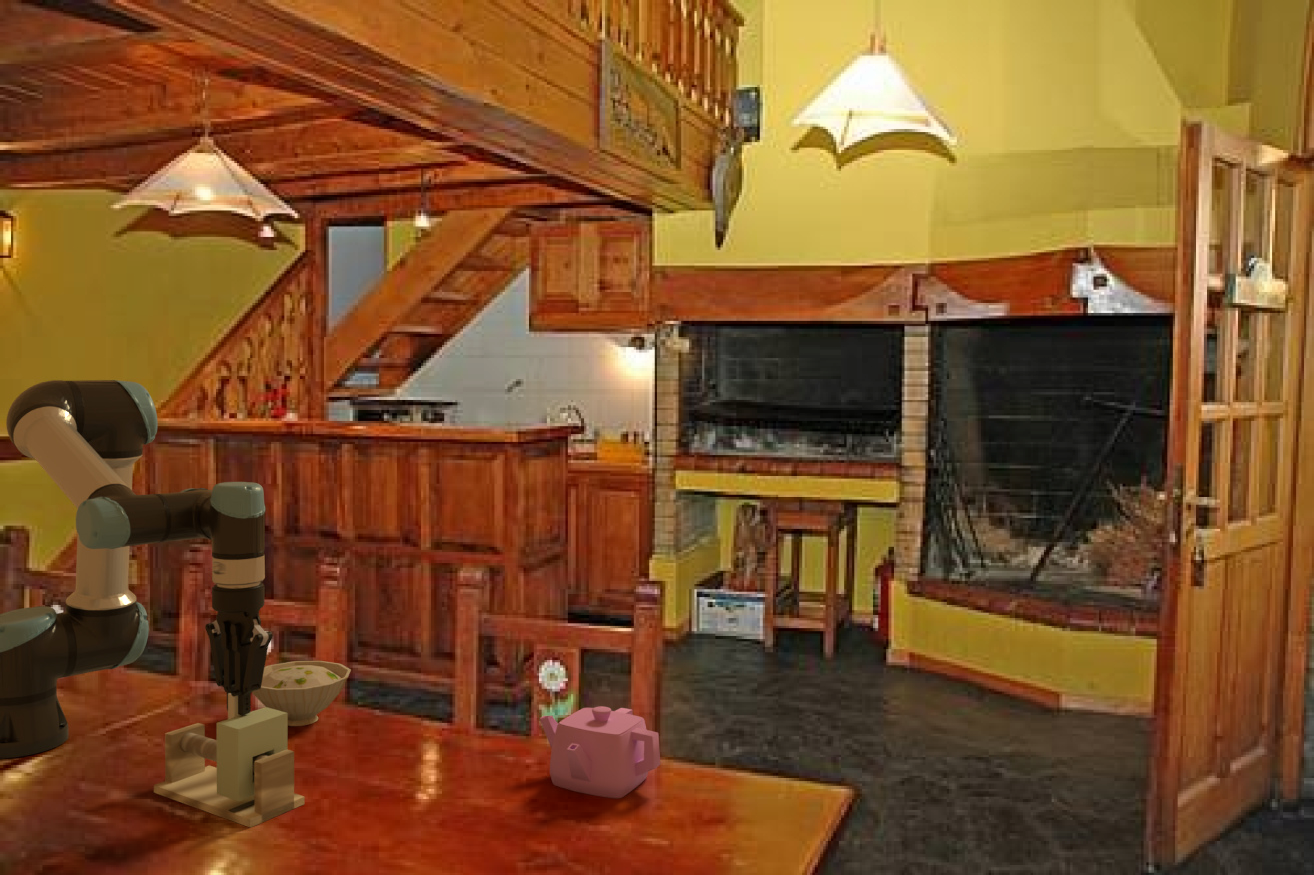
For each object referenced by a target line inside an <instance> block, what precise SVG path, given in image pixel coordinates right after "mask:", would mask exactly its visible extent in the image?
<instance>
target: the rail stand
mask: <svg viewBox="0 0 1314 875" xmlns="http://www.w3.org/2000/svg"><path fill="white" fill-rule="evenodd" d="M205 726H206V725H205V724H203V723H201V722H200V723H199V722H197V723H193V724H191V725H187V726H183V727H180V728H177V729H174V730H171V731H168V732H166V733H164V757H165V758H164V759H165V760H164V769H165V770H164V772H165V773H164V774H165V777H164V780H165V781H161V782H159V783H156V784H154V785H153V793H155V794H157V795H159V796H162V797H165V798H168V799H170V800H173V801H176V802H179V803H180V804H181V803H182V804H185V805H187V806H190V807H192V808H195V809H198V810H201V811H204V812H206V813H209V814H212V815H215V816H217V817H220V818H223V819H226V820H228V821H231V822H234V823H236V824H239V825H242V826H245V827H248V828H253V827H255V826H257V825H260V824H262V823H264V822H267V821H269V820H271V819H273V818H276V817H278V816H280V815H283V814H286V813H287V812H289V811H293V810H294V809H296V808H299V807H301V806H304V805H305V796H303V795H301V794H298V793H295V751H293V750H291V749H288V748H287V750H284V751H281V752H279V753H276V754H273V755H270V756H268V755H267V754H264V753H262V754H259V755H257V756H254V757H253V775H254V795H253V796H251V797H248V798H246V799H243V800H241V801H236V800H233V799H230V798H227V797H224V796H221V795H218V794H217V766H216V767H215V766H212V765H207V766H206V765H205V764H206V760H209V761H212V762H216V763H217V739H213V738H211V737H207V736H205V734H206V732H205V729H206V727H205Z"/></svg>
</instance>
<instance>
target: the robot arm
mask: <svg viewBox="0 0 1314 875" xmlns="http://www.w3.org/2000/svg"><path fill="white" fill-rule="evenodd" d="M5 422H6V423H5V424H6V431H7V435H8V437H9V440H10V441H11V442H12V444H13V445H14V446H15V448H16V449H17V450H18V451H19V452H20V454H22V455H24V456H26V457H28V458H31V459H34V460H36V462H37V463H38V464H39V465H40V466H41V468H42V469H43V470H44V471H45V473H46V474H47V475H48V476H49V477H50V478H51V480H52V481H53V482H54V483H55V484H56V485H57V487H58V488H59V489H60V490H61V491H62V492H63V493H64V495H65V496H66V497H67V498H68V500H70V501H71V503H72V504H73V505H74V507H75V508H76V514H75V529H76V533H77V535H76V538H77V539H76V540H77V541H76V565H75V566H76V567H75V590H74V591H73V592H72V593H71V594H69V595H68V596H67V598H66V599H65V609H64V610H65V611H63V612H59V613H58V612H56V610H55V609H54V608H53V607H51V606H42V605H41V606H40V605H39V606H34V607H24V608H18V609H14V610H9V611H6V612H3V613H0V759H10V758H11V759H13V758H20V757H26V756H31V755H35V754H39V753H43V752H47V751H49V750H52V749H54V748H57V747H59V746H60V745H62V744H64V743H65V742H67V741H68V739H69V724H68V721H67V718H66V715H65V714H64V711H63V709H62V706H61V703H60V700H59V699H58V695H57V694H58V692H57V685H58V684H57V683H58V679H62V678H66V677H67V678H68V677H73V676H77V675H83V674H84V675H85V674H87V673H93V672H100V671H105V670H114V669H116V668H118V667H123V666H126V665H130V664H132V663H134V662H135V661H137V659H139V657H141V655H142V654H143V652H144V650H145V647H146V645H147V642H148V638H149V631H150V630H149V629H150V628H149V620H147V618H148V614H147V610H146V609H145V607H144V605H142V603H140V602H138V601H137V595H135V593H133V592H132V591H131V590H130V589H129V571H130V570H129V568H130V567H129V566H130V547H133V546H140V545H141V546H142V545H149V544H158V543H168V542H170V543H171V542H178V541H186V540H195V539H197V540H198V539H207V540H210V541H211V557H212V561H211V563H212V566H211V567H212V568H211V570H212V572H211V574H212V575H211V578H212V582H213V584H214V585H213V586H212V587H211V608H212V610H214V611H215V612H217V613H216V617H215V619H216V620H214V621H213V622H209V623H206V624H205V631H206V633H207V636H208V638H209V643H210V644H209V645H210V650H211V658H212V663H213V669H214V676H215V682H216V685H217V687H222V688H223V690H224V692H226V712H227V719H230V718H233V717H236V716H239V715H245V714H248V713H250V712H252V711H251V709H252V708H251V707H252V706H251V704H252V700H251V699H252V698H251V696H252V691H255V690H258V689H260V688H261V684H262V679H263V673H264V667H266V660H267V654H268V647H269V646H270V643H271V641H272V640H273V637H274V636H273V632H271V631H267V632H266V631H265V630H264V629H263V627H262V620H261V617H260V610H261V609H262V608H263V607H265V584H264V583H263V581H264V580H265V578H266V571H265V570H266V566H265V563H266V562H265V555H266V554H265V532H266V530H265V528H266V527H265V525H266V524H265V523H266V518H265V517H266V505H265V504H266V503H265V495H264V493H265V492H264V488H263V486H262V485H261V484H259V483H257V482H252V481H251V482H247V481H227V482H225V481H224V482H219V483H217V484H214V485H213V487H212V488H211V489H207V488H203V487H199V488H193V487H192V488H186V489H183V490H181V491H179V492H168V493H167V492H166V493H165V492H164V493H154V494H153V493H152V494H136V493H135V492H134V491H133V471H134V464H135V463H136V462H137V461H138V460H139V459H140V458H142V457H143V455H144V454H143V451H144V450H143V449H144V445H148V444H150V443H152V442H153V441H154V440H155V439H156V435H157V432H158V414H157V409H156V406H155V402H154V401H153V398H152V397H151V395H150V393H149V391H148V389H146V387H145V386H143V385H142V384H141V383H138V382H136V381H128V380H127V381H126V380H118V379H96V380H95V379H94V380H88V379H87V380H85V379H84V380H83V379H82V380H64V379H63V380H62V379H60V380H59V379H52V380H51V379H50V380H47V381H42V382H39V383H36V384H34V385H32V386H30V387H28V388H26V389H25V390H24V391H22V392H21V393H20V394H19V395H18V396H17V397H16V398H15V400H14V401H13V402H12V403H11V405H10V407H9V408H8V411H7V414H6V421H5Z"/></svg>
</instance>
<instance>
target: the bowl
mask: <svg viewBox="0 0 1314 875" xmlns="http://www.w3.org/2000/svg"><path fill="white" fill-rule="evenodd" d="M351 671H352V669H351V668H349V667H348V666H346V665H344V664H342V663H338V662H331V661H324V660H299V661H298V660H297V661H295V660H293V661H288V662H280V663H274V664H269V665H265V667H264V673H263V679H262V684H261V688H260V689H258V690H255V691H252V692H251V694H253V696H254V697H255V698H257V700H258V701H259V702H260V703H262V704H263V706H264V707H268V708H271V709H275V710H279V711H282V712H286V713H288V719H287V727H288V726H289V727H302V726H307V725H311V724H313V723H315V722H318V720H319V717H318V714H320V713H321V712H322V711H324V710H326V709H327V708H328V707H329V706H330V705H331V704H332V703H333V701H335V699H336V698H337V697H338V696H339V694H341V692H342V690H343V688H344V686H345V684H346V682H347V680H348V678H349V676H350V673H351Z"/></svg>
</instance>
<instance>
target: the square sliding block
mask: <svg viewBox="0 0 1314 875" xmlns="http://www.w3.org/2000/svg"><path fill="white" fill-rule="evenodd" d="M287 719H288V713H286V712H282V711H279V710H275V709H271V708H268V707H266V706H264V707H262V708H259V709H256V710H252V711H250V713H248V714H245V715H239V716H236V717H233V718H230V719H228V718H226V719H224V720H221V721H218V722H216V740H217V762H216V768H217V794H218V795H221V796H224V797H227V798H230V799H233V800H236V801H241V800H243V799H246V798H248V797H251V796H253V795H254V775H253V757H254V756H257V755H259V754H262V753H264V754H267V755H268V756H270V755H273V754H276V753H279V752H281V751H284V750H287V749H288V726H287Z"/></svg>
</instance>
